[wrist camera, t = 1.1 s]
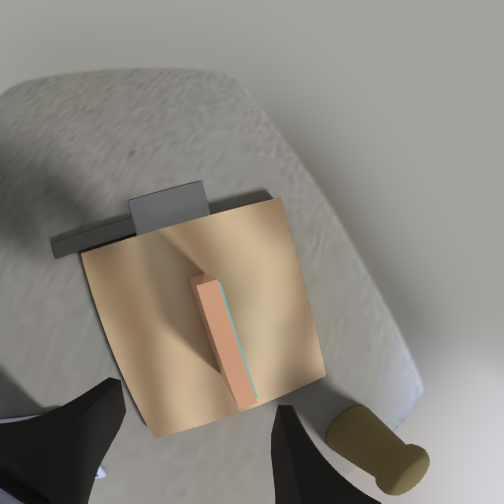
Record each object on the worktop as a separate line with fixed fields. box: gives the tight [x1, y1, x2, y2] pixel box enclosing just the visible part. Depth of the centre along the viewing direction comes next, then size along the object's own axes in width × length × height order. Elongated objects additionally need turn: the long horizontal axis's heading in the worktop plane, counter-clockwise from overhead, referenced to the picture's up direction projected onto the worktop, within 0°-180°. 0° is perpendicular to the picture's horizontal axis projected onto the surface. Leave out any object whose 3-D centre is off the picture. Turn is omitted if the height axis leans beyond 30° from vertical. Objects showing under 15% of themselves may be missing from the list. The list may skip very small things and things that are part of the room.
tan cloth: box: [81, 197, 326, 438], centre depth 22 cm, size 16×16×1 cm
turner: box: [52, 181, 211, 259], centre depth 21 cm, size 13×4×1 cm, turn 106°
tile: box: [189, 273, 258, 410], centre depth 19 cm, size 1×8×6 cm, turn 16°
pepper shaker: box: [326, 406, 430, 495], centre depth 21 cm, size 6×6×11 cm
